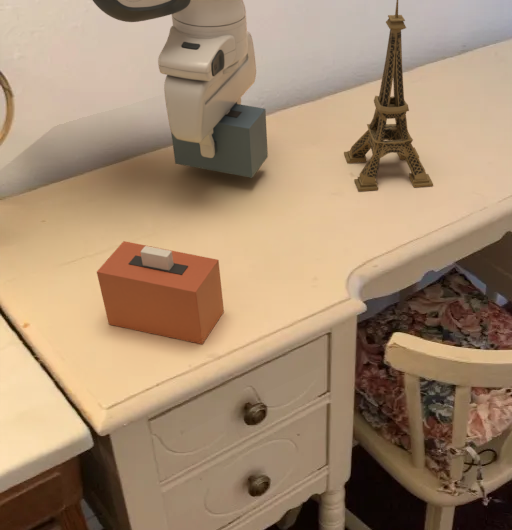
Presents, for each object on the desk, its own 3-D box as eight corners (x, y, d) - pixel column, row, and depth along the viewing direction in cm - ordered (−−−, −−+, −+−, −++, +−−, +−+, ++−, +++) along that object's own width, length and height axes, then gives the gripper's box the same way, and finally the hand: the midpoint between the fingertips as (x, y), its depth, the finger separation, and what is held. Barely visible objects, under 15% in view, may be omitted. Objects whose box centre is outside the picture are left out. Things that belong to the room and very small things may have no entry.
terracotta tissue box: (108, 324, 91) (92, 257, 85) (133, 292, 95) (120, 226, 89) (202, 344, 89) (193, 277, 83) (224, 311, 93) (217, 245, 87)
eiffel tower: (414, 149, 123) (429, -33, 105) (433, 186, 115) (452, -4, 98) (343, 153, 121) (347, -32, 103) (358, 191, 113) (364, -2, 96)
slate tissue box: (175, 163, 112) (166, 100, 106) (193, 143, 116) (186, 82, 110) (252, 178, 111) (248, 115, 104) (267, 157, 115) (265, 95, 109)
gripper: (219, 5, 110) (227, 106, 119) (150, 65, 95) (166, 174, 105) (265, 12, 109) (269, 113, 118) (202, 73, 94) (212, 182, 104)
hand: (220, 142), depth 112 cm, fingers closed on slate tissue box, 6 cm apart
